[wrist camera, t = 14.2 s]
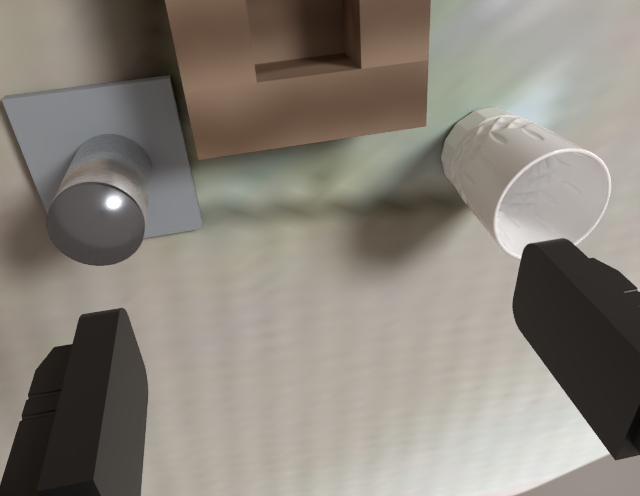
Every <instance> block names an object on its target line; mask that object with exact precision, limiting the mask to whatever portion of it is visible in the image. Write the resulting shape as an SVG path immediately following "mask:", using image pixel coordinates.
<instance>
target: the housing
mask: <svg viewBox="0 0 640 496" xmlns="http://www.w3.org/2000/svg"><path fill="white" fill-rule="evenodd" d="M165 4H166V9H167V13H168V18H169V23H170V28H171V32H172V37H173V42H174V47H175V52H176V56H177V61H178V66H179V71H180V75H181V80H182V85H183V90H184V94H185V99H186V104H187V109H188V114H189V118H190V123H191V128H192V133H193V137H194V142H195V147H196V152H197V157H198V160H201V159H208V158H215V157H222V156H228V155H235V154H242V153H249V152H255V151H262V150H269V149H276V148H282V147H289V146H296V145H303V144H310V143H316V142H323V141H330V140H337V139H343V138H350V137H357V136H364V135H370V134H377V133H384V132H391V131H397V130H404V129H411V128H418V127H425V126H426V113H427V85H428V57H429V29H430V0H165Z"/></svg>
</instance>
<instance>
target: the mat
mask: <svg viewBox="0 0 640 496" xmlns="http://www.w3.org/2000/svg"><path fill="white" fill-rule="evenodd" d="M2 102H3V105H4V107H5V110H6V112H7V115H8V117H9V120H10V123H11V125H12V128H13V130H14V133H15V135H16V138H17V140H18V143H19V145H20V148H21V150H22V153H23V155H24V158H25V160H26V163H27V165H28V168H29V171H30V173H31V176H32V178H33V181H34V183H35V186H36V188H37V191H38V193H39V196H40V198H41V201H42V203H43V206H44V208H45V211H46V213H48V210H49V208H50V206H51V203H52V201H53V199H54V197H55V195H56V193H57V191H58V189H59V187H60V185H61V183H62V181H63V179H64V177H65V175H66V172H67V170H68V168H69V166H70V164H71V162H72V160H73V158H74V156H75V154H76V152H77V150H78V149H79V147H80V146H81V145H82V144H83V143H84V142H85V141H87V140H88V139H90V138H92V137H94V136H97V135H102V134H116V135H121V136H124V137H127V138H129V139H131V140H133V141H135V142H136V143H137V144H139V145H140V146H141V147H142V148H143V149H144V150H145V152H146V153H147V155H148V156H149V158H150V160H151V163H152V168H153V177H152V184H151V191H150V198H149V205H148V211H147V218H146V225H145V232H144V237H143V238H149V237H155V236H161V235H167V234H173V233H179V232H186V231H192V230H198V229H203V222H202V218H201V213H200V209H199V204H198V200H197V195H196V191H195V186H194V181H193V177H192V172H191V168H190V163H189V159H188V154H187V150H186V145H185V140H184V136H183V131H182V127H181V122H180V118H179V113H178V109H177V104H176V99H175V95H174V90H173V86H172V81H171V77H170V75H167V76H159V77H151V78H143V79H135V80H127V81H119V82H111V83H103V84H96V85H88V86H80V87H72V88H64V89H56V90H48V91H40V92H32V93H24V94H17V95H9V96H5V97H4V98H3V99H2Z"/></svg>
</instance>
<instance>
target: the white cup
mask: <svg viewBox="0 0 640 496" xmlns="http://www.w3.org/2000/svg"><path fill="white" fill-rule="evenodd" d="M441 161H442V165H443V169H444V173H445V176H446V177H447V178H448V179H449V181H450V182H451V183H452V184H453V185H454V187H455V188H456V189H457V191H458V193H459V195H460V197H461V198H462V199H463V201H464V202H465V203H466V204H467V206H468V207H469V209H470V210H471V211H472V213H473V214H474V215H475V216H476V217H477V219H478V220H479V221H480V222H481V224H482V225H483V226H484V227H485V229H486V230H487V231H488V232H489V233H490V235H491V236H492V237H493V239H494V240H495V241H496V242H497V244H498V245H499V246H500V247H501V249H502V250H503V251H504V252H506V253H507V254H508V255H510V256H512V257H514V258H517V259H520V260H521V257H522V252H523V250H524V248H525V246H526V245H527V244H529V243H535V242H542V241H548V240H554V239H560V238H565V239H568V240H570V241H571V242H572V243H573V244H574V245H575V246H576V245H577V244H578V243H580V242H581V241H582V240H583V239H584V238H585V237H586V236H587V235H588V234H589V233H590V232H591V231H592V230H593V229H594V228H595V226H596V225H597V224H598V222H599V221H600V219H601V217H602V216H603V214H604V212H605V210H606V207H607V205H608V202H609V198H610V193H611V179H610V174H609V171H608V169H607V167H606V165H605V163H604V162H603V161H602V160H601V159H600V158H599V157H598V156H597V155H595V154H594V153H592V152H590V151H588V150H586V149H584V148H582V147H580V146H578V145H576V144H574V143H572V142H571V141H569V140H567V139H565V138H563V137H561V136H559V135H558V134H556V133H554V132H552V131H550V130H548V129H546V128H544V127H542V126H540V125H538V124H535V123H533V122H531V121H529V120H527V119H525V118H522V117H519V116H517V115H515V114H514V113H512V112H509V111H506V110H503V109H499V108H496V107H490V108H485V109H480V110H475V111H473V112H472V113H470V114H469V115H467V116H466V117H464V118H463V119H461V120H460V121H458V122H457V123H456V125H455V126H454V127H453V129H452V130H451V132H450V133H449V135H448V136H447V137H446V139H445V142H444V146H443V151H442V155H441Z"/></svg>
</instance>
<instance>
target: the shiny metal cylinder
mask: <svg viewBox="0 0 640 496" xmlns="http://www.w3.org/2000/svg"><path fill="white" fill-rule="evenodd" d="M152 177H153V168H152V163H151V160H150V158H149V156H148V155H147V153H146V152H145V150H144V149H143V148H142V147H141V146H140V145H139V144H137V143H136V142H135V141H133V140H131V139H129V138H127V137H124V136H121V135H116V134H102V135H97V136H94V137H92V138H90V139H88V140H87V141H85V142H84V143H83V144H82V145H81V146H80V147H79V149H78V150H77V152H76V154H75V156H74V158H73V160H72V162H71V164H70V166H69V168H68V170H67V172H66V175H65V177H64V179H63V181H62V183H61V185H60V187H59V189H58V191H57V193H56V195H55V197H54V199H53V201H52V203H51V206H50V208H49V210H48V213H47V219H46V224H47V230H48V233H49V236H50V238H51V240H52V241H53V243H54V244H55V246H56V247H57V248H58V249H59V250H60V251H61V252H62V253H64V254H65V255H66V256H68V257H70V258H71V259H73V260H76V261H78V262H81V263H84V264H88V265H96V266H104V265H111V264H116V263H118V262H121V261H123V260H125V259H127V258H128V257H130V256H131V255H132V254H134V253H135V252H136V250H137V249H138V248H139V246H140V245H141V243H142V241H143V237H144V232H145V225H146V218H147V211H148V205H149V198H150V191H151V184H152Z"/></svg>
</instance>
